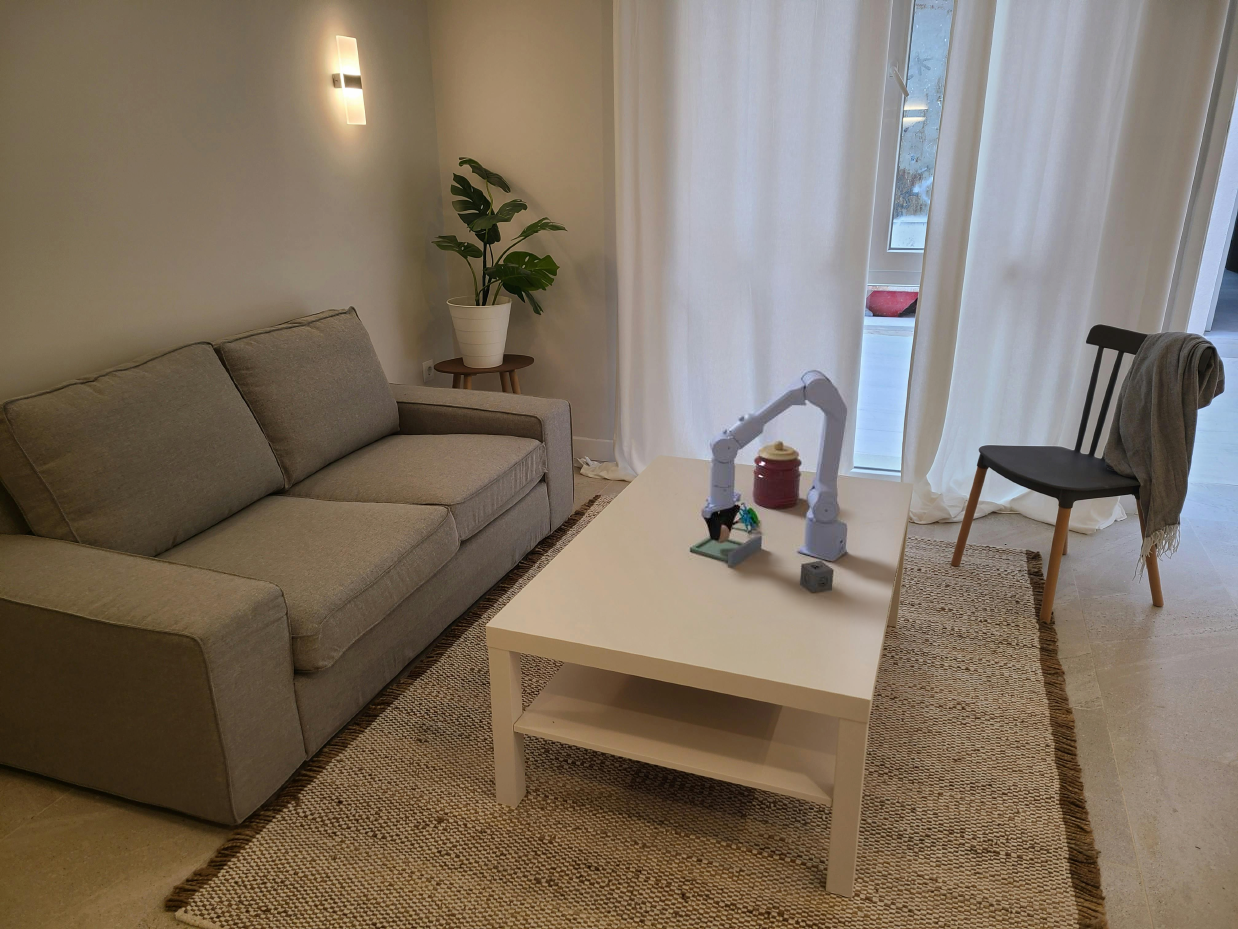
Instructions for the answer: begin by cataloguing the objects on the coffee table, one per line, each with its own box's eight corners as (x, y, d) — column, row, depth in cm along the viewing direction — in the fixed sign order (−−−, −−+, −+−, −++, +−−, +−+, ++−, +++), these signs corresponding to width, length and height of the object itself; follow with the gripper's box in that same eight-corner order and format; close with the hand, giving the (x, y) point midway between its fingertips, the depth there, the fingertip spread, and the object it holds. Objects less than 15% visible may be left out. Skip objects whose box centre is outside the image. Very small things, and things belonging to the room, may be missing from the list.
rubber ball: (732, 541, 210) (733, 524, 208) (723, 547, 207) (723, 530, 205) (717, 537, 213) (717, 520, 211) (707, 543, 209) (707, 526, 208)
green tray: (749, 548, 211) (750, 544, 211) (727, 562, 203) (727, 558, 203) (713, 537, 217) (713, 534, 217) (689, 551, 209) (689, 547, 209)
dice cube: (800, 584, 192) (801, 564, 191) (819, 580, 194) (820, 560, 193) (812, 593, 188) (813, 573, 186) (831, 590, 190) (833, 569, 188)
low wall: (761, 548, 211) (761, 535, 210) (731, 567, 201) (731, 553, 199) (757, 547, 212) (758, 534, 210) (727, 566, 201) (728, 552, 200)
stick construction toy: (753, 529, 217) (739, 501, 218) (729, 541, 219) (716, 514, 221) (766, 526, 227) (753, 499, 229) (744, 537, 230) (731, 511, 232)
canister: (748, 506, 238) (751, 445, 232) (755, 491, 249) (758, 432, 244) (796, 511, 234) (800, 449, 228) (801, 495, 246) (805, 436, 240)
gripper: (724, 472, 213) (722, 523, 217) (691, 488, 202) (689, 541, 206) (749, 478, 208) (746, 530, 213) (716, 494, 198) (714, 549, 202)
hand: (720, 536), depth 209 cm, fingers closed on rubber ball, 4 cm apart
